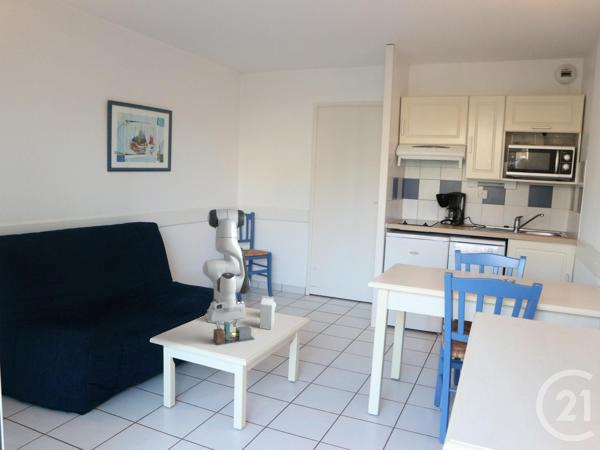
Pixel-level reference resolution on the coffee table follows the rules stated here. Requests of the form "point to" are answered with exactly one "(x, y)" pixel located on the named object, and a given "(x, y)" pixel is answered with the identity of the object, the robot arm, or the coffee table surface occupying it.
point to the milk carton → (267, 312)
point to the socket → (219, 335)
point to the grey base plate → (243, 336)
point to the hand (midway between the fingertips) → (226, 327)
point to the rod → (227, 331)
